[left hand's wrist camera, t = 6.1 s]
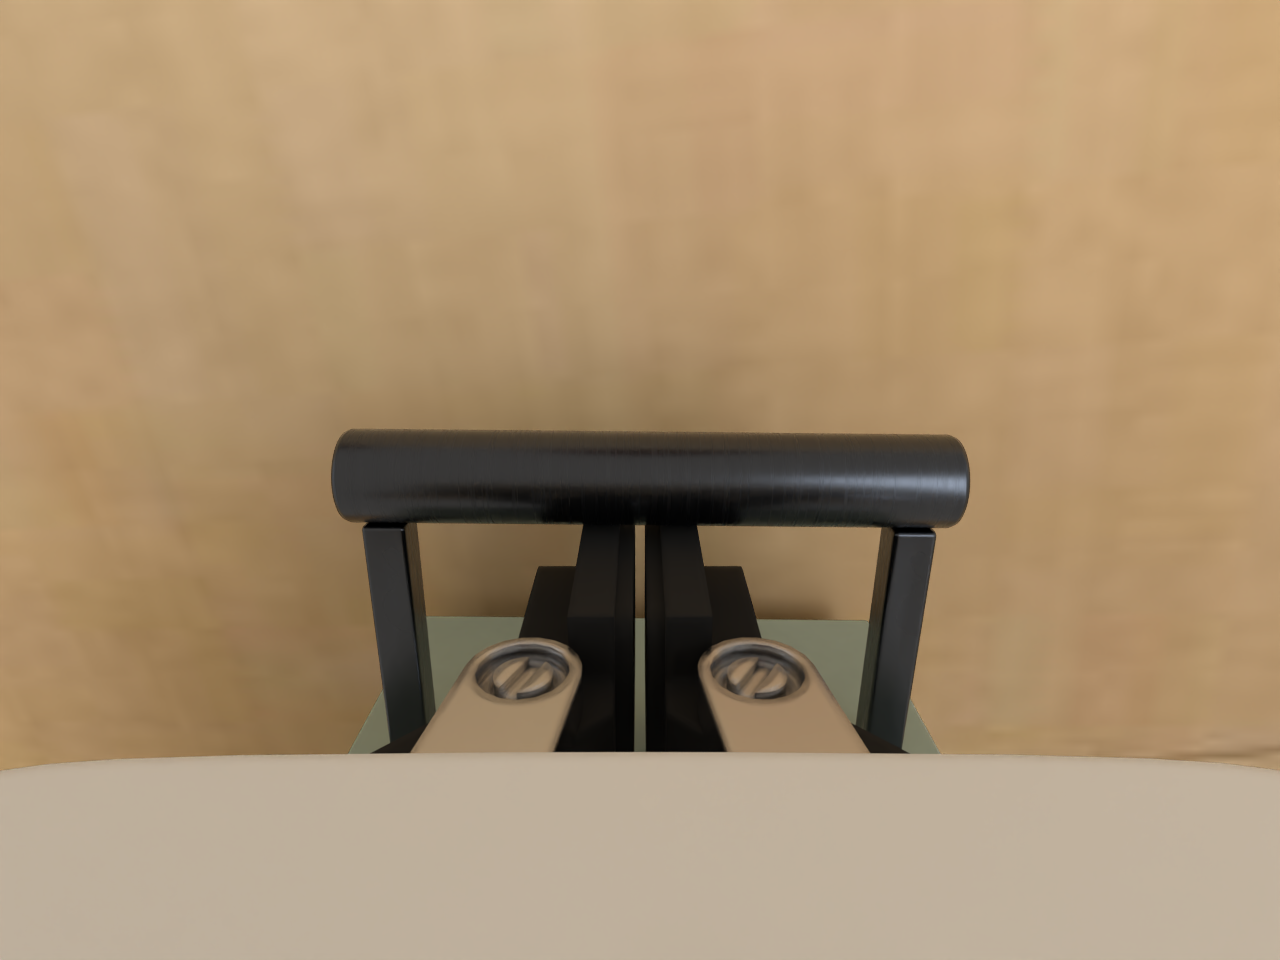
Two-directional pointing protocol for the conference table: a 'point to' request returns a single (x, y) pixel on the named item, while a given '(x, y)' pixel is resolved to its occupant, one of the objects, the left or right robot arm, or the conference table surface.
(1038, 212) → the conference table surface
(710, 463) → the drawer
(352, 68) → the conference table surface
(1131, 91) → the conference table surface
